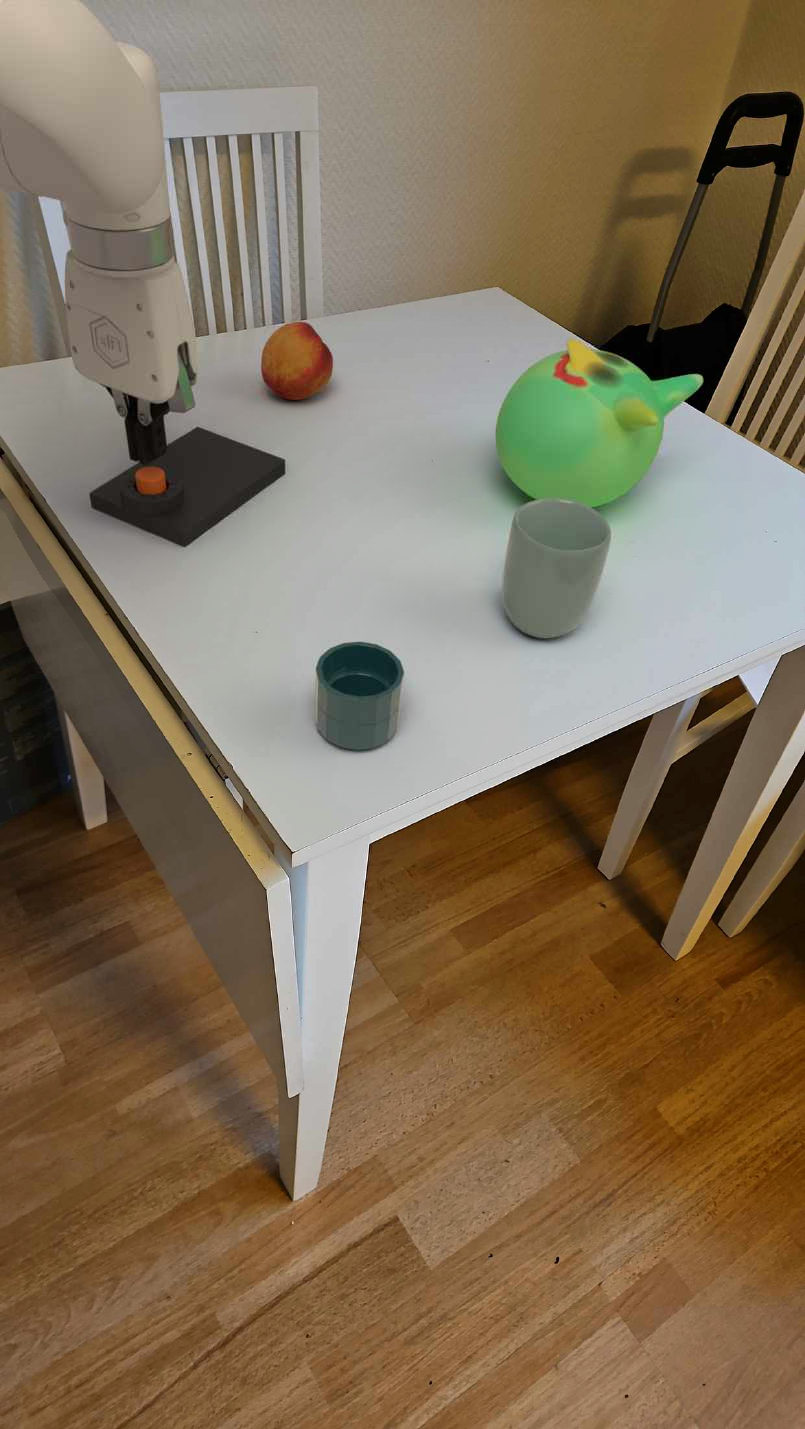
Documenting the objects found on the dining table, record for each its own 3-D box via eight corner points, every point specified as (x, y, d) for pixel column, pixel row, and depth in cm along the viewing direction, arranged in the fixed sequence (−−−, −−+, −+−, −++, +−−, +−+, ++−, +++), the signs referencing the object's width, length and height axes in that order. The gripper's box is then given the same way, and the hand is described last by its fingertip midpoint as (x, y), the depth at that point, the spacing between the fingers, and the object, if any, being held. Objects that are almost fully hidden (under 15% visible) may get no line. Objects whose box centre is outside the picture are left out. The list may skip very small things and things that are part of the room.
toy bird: (529, 433, 107) (554, 300, 96) (674, 480, 102) (716, 345, 92) (459, 505, 95) (479, 362, 85) (619, 562, 90) (661, 417, 80)
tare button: (153, 499, 86) (151, 484, 85) (131, 490, 87) (129, 475, 86) (172, 487, 88) (170, 472, 87) (150, 478, 89) (148, 463, 88)
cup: (553, 587, 86) (576, 490, 79) (602, 639, 82) (631, 540, 75) (479, 605, 84) (496, 506, 77) (525, 660, 79) (547, 560, 72)
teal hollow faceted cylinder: (322, 758, 69) (324, 703, 65) (309, 699, 73) (310, 645, 70) (405, 749, 70) (411, 695, 67) (388, 692, 75) (393, 638, 71)
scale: (183, 548, 86) (180, 518, 84) (89, 508, 90) (84, 478, 87) (285, 473, 97) (285, 444, 94) (198, 440, 100) (196, 411, 98)
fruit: (336, 412, 107) (338, 341, 101) (263, 412, 106) (261, 340, 100) (329, 380, 112) (331, 311, 107) (260, 379, 111) (258, 310, 105)
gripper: (12, 229, 73) (55, 448, 85) (168, 279, 68) (189, 502, 81) (81, 205, 77) (113, 416, 90) (232, 251, 73) (242, 465, 86)
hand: (148, 456), depth 85 cm, fingers closed
